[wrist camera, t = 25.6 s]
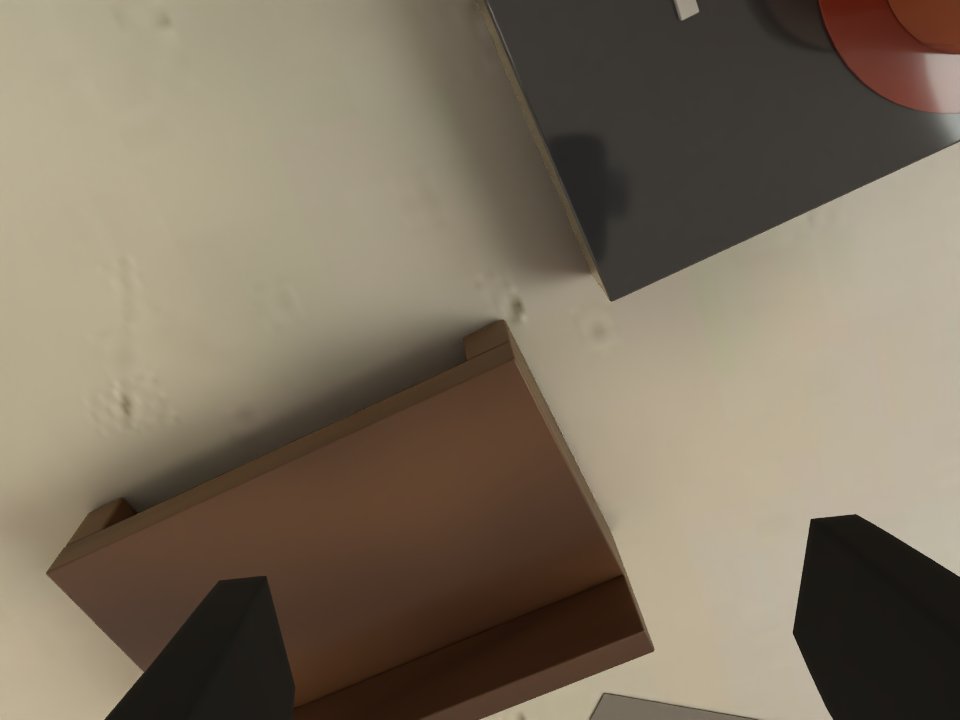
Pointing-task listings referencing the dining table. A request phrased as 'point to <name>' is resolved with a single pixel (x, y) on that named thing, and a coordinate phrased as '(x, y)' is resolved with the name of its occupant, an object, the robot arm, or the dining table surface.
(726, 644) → the dining table surface
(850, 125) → the hob
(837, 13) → the disc
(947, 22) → the jar
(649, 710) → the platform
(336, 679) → the spice shelf
